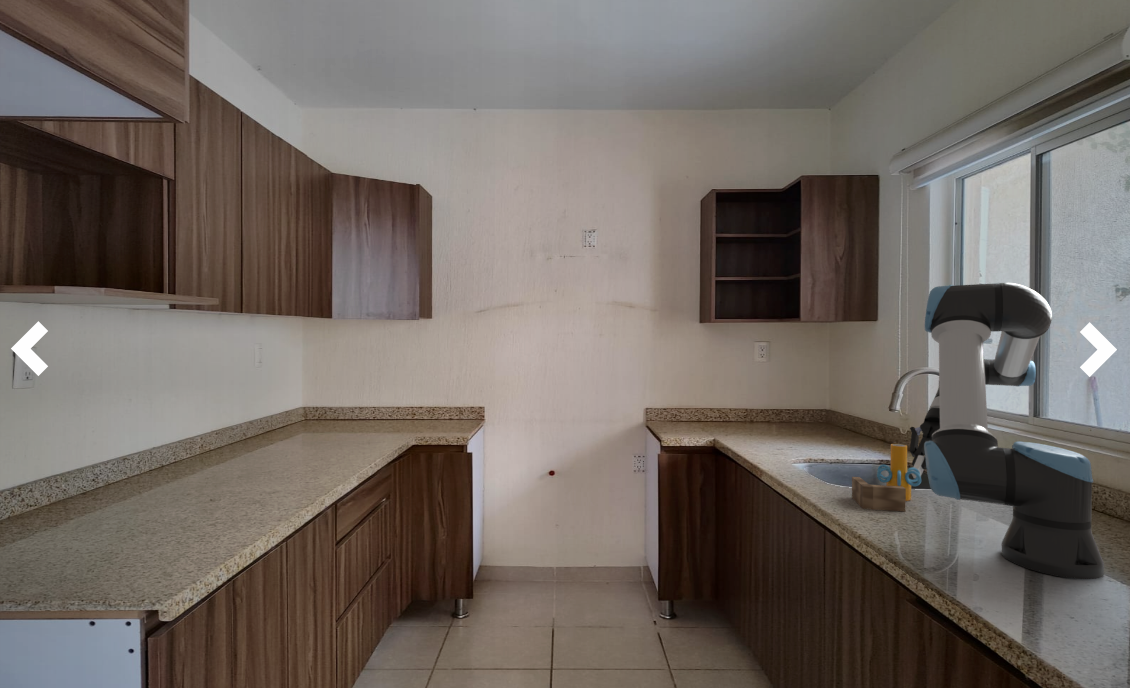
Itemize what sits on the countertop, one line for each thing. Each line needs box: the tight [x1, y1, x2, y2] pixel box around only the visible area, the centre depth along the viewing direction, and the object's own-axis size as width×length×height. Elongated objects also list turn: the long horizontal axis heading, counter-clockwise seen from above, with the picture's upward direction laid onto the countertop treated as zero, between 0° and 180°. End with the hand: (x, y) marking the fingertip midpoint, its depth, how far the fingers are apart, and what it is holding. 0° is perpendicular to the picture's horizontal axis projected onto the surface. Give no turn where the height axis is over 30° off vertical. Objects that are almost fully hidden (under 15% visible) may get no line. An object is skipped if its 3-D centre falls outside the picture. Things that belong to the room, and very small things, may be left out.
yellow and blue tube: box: [876, 443, 922, 502], centre depth 150 cm, size 12×10×15 cm
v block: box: [851, 476, 907, 513], centre depth 143 cm, size 9×14×6 cm, turn 32°
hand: (915, 475), depth 156 cm, fingers closed
